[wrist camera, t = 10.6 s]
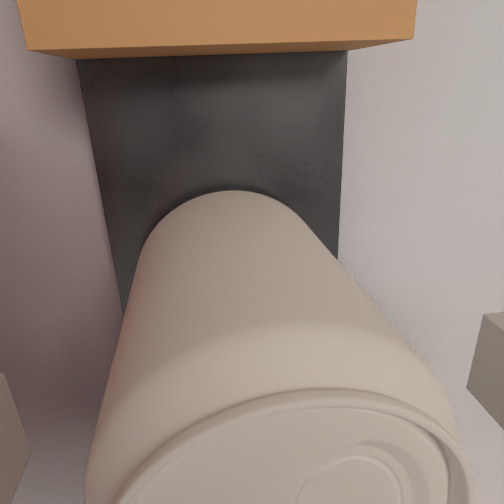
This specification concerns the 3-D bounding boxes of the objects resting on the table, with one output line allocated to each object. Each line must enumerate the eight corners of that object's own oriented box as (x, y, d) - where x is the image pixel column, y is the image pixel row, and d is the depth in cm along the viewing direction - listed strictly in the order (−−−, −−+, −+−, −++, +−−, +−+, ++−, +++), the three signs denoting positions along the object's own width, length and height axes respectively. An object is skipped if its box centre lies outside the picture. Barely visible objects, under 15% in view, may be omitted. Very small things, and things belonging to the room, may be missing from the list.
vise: (43, -165, 13) (-66, -356, 7) (345, -155, 14) (451, -311, 9) (151, 441, 23) (141, 557, 17) (322, 415, 24) (364, 516, 19)
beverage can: (335, 311, 20) (516, 583, 9) (183, 372, 20) (183, 716, 9) (285, 156, 17) (474, 295, 6) (103, 229, 17) (-45, 503, 6)
